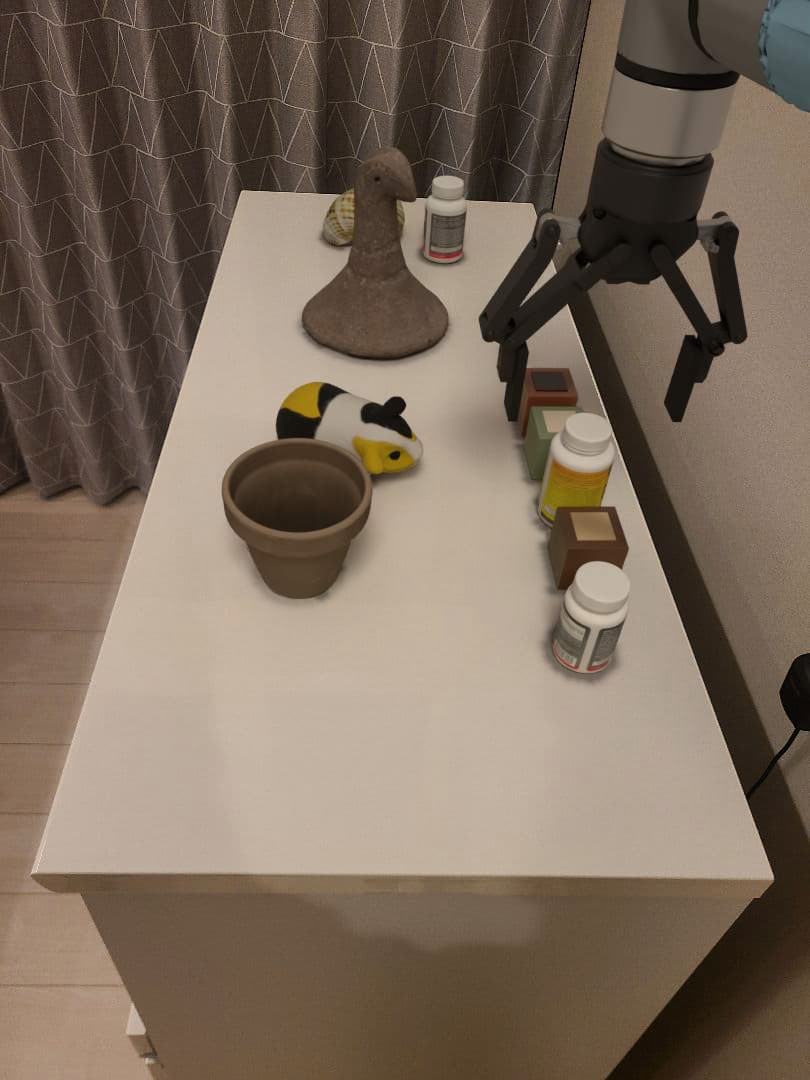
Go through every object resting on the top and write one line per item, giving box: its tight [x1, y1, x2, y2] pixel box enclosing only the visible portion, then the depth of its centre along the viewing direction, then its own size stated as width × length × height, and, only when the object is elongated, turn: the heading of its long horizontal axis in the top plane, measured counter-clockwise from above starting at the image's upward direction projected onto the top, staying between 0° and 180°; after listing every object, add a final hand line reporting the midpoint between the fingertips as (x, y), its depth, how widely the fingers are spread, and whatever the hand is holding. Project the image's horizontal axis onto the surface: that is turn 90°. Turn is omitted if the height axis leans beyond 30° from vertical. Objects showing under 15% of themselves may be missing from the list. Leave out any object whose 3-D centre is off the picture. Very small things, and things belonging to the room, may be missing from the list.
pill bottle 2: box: [551, 561, 632, 674], centre depth 63 cm, size 5×5×8 cm
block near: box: [547, 505, 630, 591], centre depth 70 cm, size 5×5×5 cm
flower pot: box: [221, 438, 374, 599], centre depth 67 cm, size 12×11×10 cm
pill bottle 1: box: [422, 175, 468, 264], centre depth 108 cm, size 5×5×10 cm
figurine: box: [275, 381, 424, 475], centre depth 78 cm, size 8×15×8 cm, turn 64°
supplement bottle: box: [537, 412, 616, 529], centre depth 73 cm, size 6×6×10 cm
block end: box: [517, 367, 579, 438], centre depth 85 cm, size 5×5×5 cm
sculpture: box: [301, 145, 449, 359], centre depth 92 cm, size 17×17×20 cm
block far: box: [523, 406, 585, 480], centre depth 80 cm, size 5×5×5 cm
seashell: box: [322, 187, 406, 246], centre depth 112 cm, size 10×10×10 cm
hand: (591, 412), depth 69 cm, fingers open, 13 cm apart
